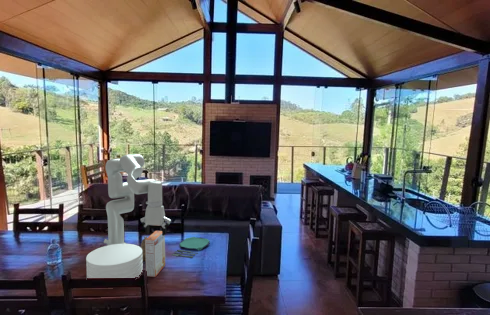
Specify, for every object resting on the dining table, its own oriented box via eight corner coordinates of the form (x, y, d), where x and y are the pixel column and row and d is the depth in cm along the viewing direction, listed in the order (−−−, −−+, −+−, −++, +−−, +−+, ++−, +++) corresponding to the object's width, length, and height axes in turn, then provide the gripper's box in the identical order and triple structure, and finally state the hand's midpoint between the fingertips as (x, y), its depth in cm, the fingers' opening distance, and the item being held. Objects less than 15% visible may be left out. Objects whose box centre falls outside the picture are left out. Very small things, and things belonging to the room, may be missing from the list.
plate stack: (105, 260, 181) (105, 242, 179) (150, 263, 178) (150, 245, 177) (74, 285, 153) (73, 263, 152) (127, 289, 150) (127, 267, 149)
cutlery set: (213, 241, 214) (213, 238, 214) (194, 260, 185) (194, 256, 185) (188, 238, 220) (188, 235, 219) (166, 255, 191) (166, 252, 191)
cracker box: (155, 264, 176) (155, 230, 174) (165, 265, 176) (165, 230, 173) (144, 276, 163) (144, 239, 160) (155, 277, 162) (155, 239, 160)
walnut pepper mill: (139, 261, 181) (139, 238, 179) (144, 257, 186) (143, 235, 184) (147, 261, 180) (147, 238, 178) (151, 258, 185) (151, 235, 183)
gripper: (137, 204, 163) (137, 235, 164) (167, 206, 160) (167, 237, 162) (143, 201, 170) (144, 231, 172) (172, 203, 167) (173, 233, 169)
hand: (155, 234), depth 167 cm, fingers open, 9 cm apart
